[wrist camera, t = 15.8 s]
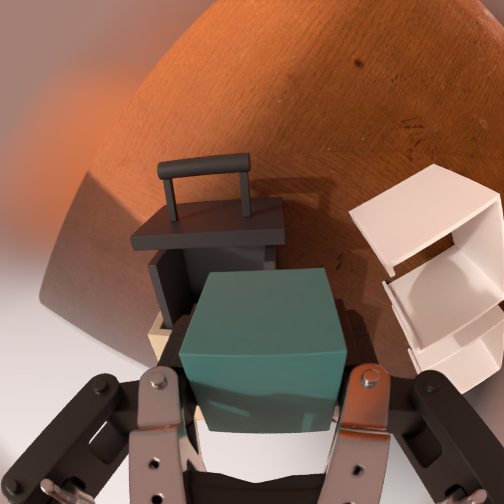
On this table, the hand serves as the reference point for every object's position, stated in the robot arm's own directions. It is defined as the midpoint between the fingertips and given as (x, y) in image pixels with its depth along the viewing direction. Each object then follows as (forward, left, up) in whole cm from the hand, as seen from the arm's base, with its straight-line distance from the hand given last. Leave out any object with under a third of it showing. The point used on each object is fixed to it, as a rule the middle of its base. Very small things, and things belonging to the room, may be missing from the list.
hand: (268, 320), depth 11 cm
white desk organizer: (+16, +14, -18) cm, 28 cm away
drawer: (+2, -6, -17) cm, 18 cm away
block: (0, 0, 0) cm, 0 cm away
